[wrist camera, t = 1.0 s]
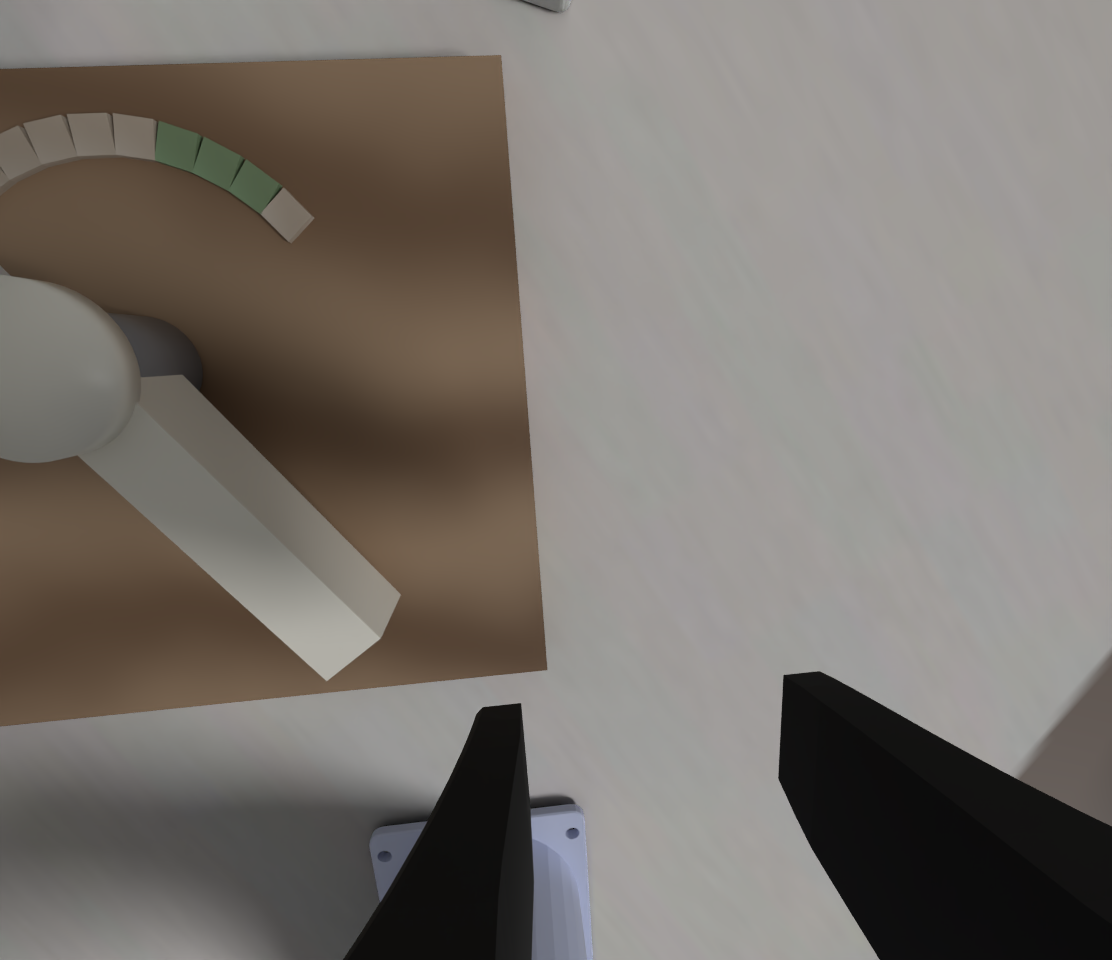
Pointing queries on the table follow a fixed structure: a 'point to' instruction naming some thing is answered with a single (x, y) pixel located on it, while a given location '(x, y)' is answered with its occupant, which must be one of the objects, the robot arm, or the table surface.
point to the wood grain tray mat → (278, 365)
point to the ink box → (552, 4)
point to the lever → (180, 465)
